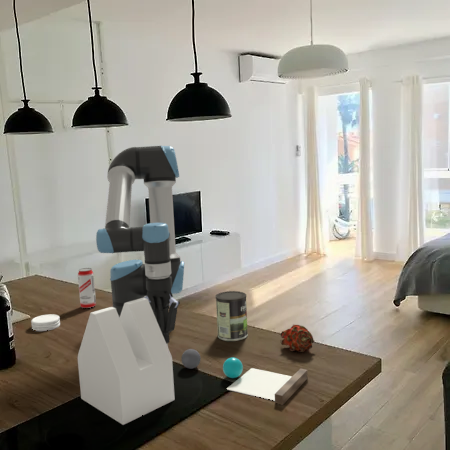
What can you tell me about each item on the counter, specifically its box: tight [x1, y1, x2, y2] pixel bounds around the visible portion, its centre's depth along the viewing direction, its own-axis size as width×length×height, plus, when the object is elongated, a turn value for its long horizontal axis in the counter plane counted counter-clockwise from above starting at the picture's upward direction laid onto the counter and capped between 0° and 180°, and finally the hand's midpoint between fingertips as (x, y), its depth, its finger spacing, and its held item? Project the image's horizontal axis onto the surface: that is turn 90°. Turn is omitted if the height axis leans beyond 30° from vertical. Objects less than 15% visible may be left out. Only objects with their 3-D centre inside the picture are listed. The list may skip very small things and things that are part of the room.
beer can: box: [77, 267, 97, 309], centre depth 208 cm, size 6×6×16 cm
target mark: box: [226, 367, 293, 402], centre depth 134 cm, size 14×14×1 cm
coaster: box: [30, 313, 61, 332], centre depth 187 cm, size 10×10×4 cm
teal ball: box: [222, 356, 244, 379], centre depth 138 cm, size 6×6×6 cm
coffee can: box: [214, 290, 249, 342], centre depth 169 cm, size 10×10×14 cm
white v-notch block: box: [77, 298, 175, 426], centre depth 127 cm, size 19×15×25 cm
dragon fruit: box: [279, 324, 315, 353], centre depth 155 cm, size 8×8×12 cm
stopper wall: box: [274, 368, 308, 406], centre depth 129 cm, size 16×2×2 cm, turn 149°
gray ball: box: [180, 348, 202, 370], centre depth 146 cm, size 6×6×6 cm
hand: (163, 353), depth 150 cm, fingers closed
